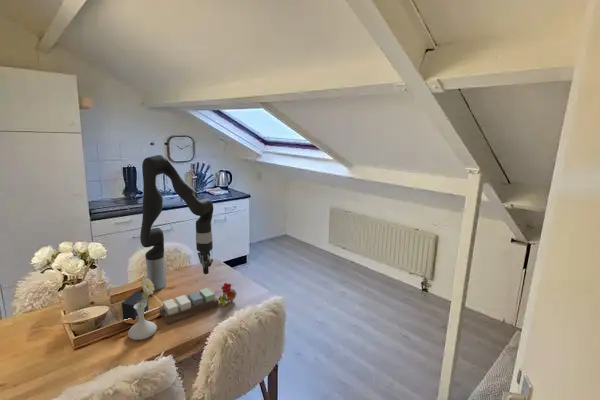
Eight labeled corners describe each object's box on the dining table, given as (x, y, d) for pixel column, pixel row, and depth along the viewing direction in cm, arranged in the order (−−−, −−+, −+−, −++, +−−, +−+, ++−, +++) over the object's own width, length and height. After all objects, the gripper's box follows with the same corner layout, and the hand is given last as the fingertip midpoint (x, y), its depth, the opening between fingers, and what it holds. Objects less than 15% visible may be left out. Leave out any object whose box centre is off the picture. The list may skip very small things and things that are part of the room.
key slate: (188, 302, 166) (187, 293, 165) (196, 299, 169) (196, 291, 168) (194, 309, 160) (194, 300, 159) (203, 306, 163) (202, 297, 162)
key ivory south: (163, 310, 159) (162, 301, 158) (172, 307, 162) (172, 298, 161) (169, 317, 153) (168, 309, 152) (178, 314, 156) (178, 305, 155)
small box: (135, 325, 151) (133, 304, 149) (122, 323, 152) (120, 302, 150) (150, 312, 161) (148, 293, 159) (138, 311, 162) (135, 291, 160)
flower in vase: (143, 345, 138) (137, 290, 132) (122, 338, 142) (115, 284, 136) (165, 327, 150) (161, 276, 144) (145, 322, 154) (140, 271, 148)
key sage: (199, 298, 170) (199, 290, 169) (208, 295, 173) (207, 287, 172) (206, 305, 164) (206, 296, 163) (214, 302, 167) (214, 294, 166)
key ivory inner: (176, 306, 163) (175, 297, 162) (185, 303, 165) (184, 294, 164) (182, 313, 157) (181, 304, 156) (191, 310, 159) (190, 301, 158)
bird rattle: (229, 302, 176) (213, 300, 170) (236, 282, 176) (221, 280, 170) (234, 307, 171) (218, 306, 165) (241, 287, 171) (226, 285, 165)
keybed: (160, 314, 160) (159, 306, 159) (209, 298, 175) (209, 291, 174) (167, 325, 152) (166, 317, 151) (218, 307, 167) (218, 299, 166)
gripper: (191, 238, 164) (193, 270, 168) (202, 245, 154) (204, 280, 158) (205, 235, 168) (207, 267, 172) (217, 242, 158) (219, 276, 162)
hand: (206, 273), depth 165 cm, fingers closed
